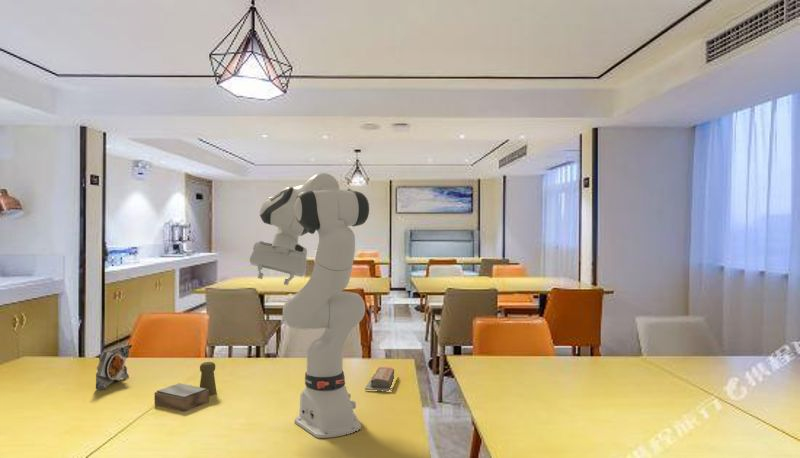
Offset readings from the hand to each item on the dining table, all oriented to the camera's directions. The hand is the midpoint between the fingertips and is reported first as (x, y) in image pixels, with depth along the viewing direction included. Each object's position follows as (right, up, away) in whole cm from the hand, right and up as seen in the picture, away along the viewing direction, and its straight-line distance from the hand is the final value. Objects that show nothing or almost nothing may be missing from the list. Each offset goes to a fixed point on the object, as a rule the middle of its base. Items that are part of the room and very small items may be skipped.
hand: (272, 281), depth 179 cm
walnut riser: (-28, -40, -11) cm, 50 cm away
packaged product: (+39, -41, +10) cm, 57 cm away
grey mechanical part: (-62, -40, +9) cm, 74 cm away
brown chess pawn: (-23, -40, -1) cm, 46 cm away
